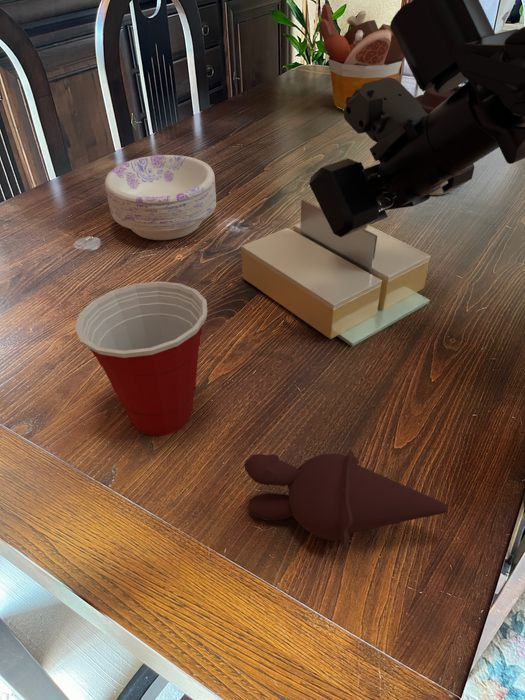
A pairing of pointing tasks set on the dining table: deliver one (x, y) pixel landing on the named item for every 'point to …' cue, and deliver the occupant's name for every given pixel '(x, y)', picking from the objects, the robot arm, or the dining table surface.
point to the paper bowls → (161, 195)
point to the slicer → (338, 238)
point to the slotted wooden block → (338, 282)
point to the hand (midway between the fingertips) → (348, 212)
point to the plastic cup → (148, 349)
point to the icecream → (335, 496)
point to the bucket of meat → (358, 54)
